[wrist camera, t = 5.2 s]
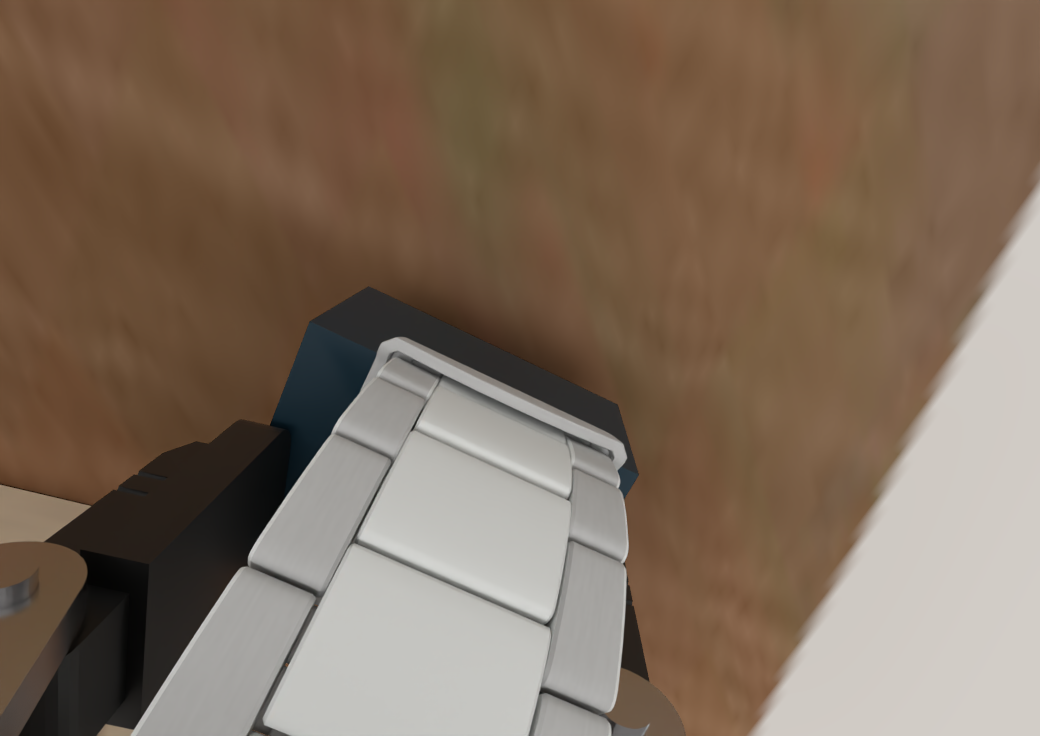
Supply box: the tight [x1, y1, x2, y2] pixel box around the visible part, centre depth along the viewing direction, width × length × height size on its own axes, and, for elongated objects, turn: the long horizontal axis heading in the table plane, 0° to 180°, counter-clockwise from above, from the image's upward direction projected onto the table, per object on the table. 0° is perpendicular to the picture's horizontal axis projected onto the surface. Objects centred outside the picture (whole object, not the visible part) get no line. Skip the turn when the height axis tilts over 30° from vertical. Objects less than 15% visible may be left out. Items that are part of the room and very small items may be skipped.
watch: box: [130, 286, 639, 736], centre depth 8 cm, size 6×8×11 cm
